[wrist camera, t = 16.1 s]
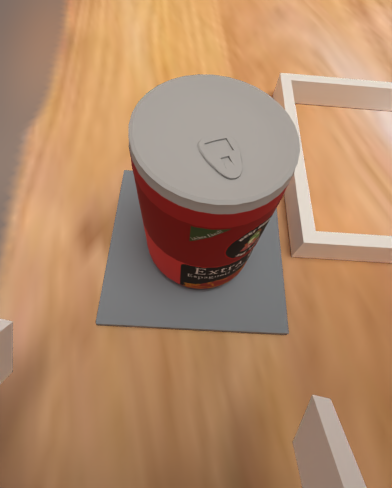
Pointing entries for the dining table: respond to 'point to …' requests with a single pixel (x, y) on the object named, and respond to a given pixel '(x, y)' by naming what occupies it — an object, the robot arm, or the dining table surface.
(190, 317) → the mat
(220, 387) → the dining table surface
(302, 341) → the dining table surface
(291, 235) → the corral
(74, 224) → the dining table surface
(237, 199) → the canned food
